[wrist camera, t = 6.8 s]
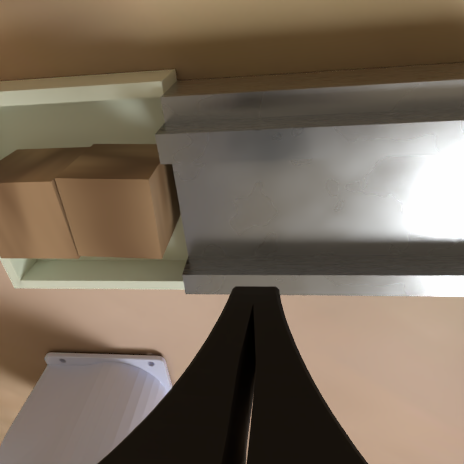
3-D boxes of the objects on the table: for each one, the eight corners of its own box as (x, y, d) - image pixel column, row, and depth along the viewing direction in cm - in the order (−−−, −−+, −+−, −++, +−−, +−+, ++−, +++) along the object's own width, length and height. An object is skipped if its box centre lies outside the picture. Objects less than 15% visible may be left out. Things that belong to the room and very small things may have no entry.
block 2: (110, 213, 21) (78, 256, 18) (93, 143, 19) (54, 178, 16) (180, 214, 21) (161, 259, 18) (172, 144, 19) (148, 179, 15)
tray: (37, 262, 25) (14, 288, 23) (-43, 84, 19) (-83, 96, 17) (204, 262, 23) (197, 289, 21) (175, 69, 17) (161, 81, 15)
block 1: (109, 215, 21) (43, 216, 22) (90, 147, 19) (17, 149, 20) (78, 258, 18) (1, 258, 19) (50, 181, 16) (-36, 183, 16)
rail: (203, 255, 23) (188, 308, 19) (177, 80, 18) (149, 107, 14) (451, 254, 21) (488, 313, 17) (506, 59, 16) (577, 83, 12)
